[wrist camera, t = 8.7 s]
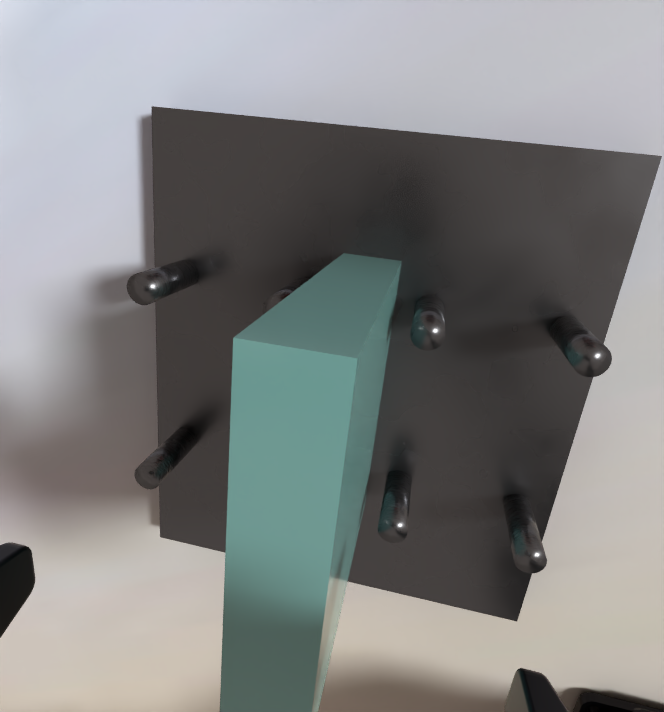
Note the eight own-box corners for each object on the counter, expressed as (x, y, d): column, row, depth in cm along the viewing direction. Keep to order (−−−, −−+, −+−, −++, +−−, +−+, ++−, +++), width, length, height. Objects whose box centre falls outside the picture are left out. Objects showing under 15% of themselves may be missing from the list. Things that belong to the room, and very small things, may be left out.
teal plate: (364, 506, 20) (303, 777, 11) (316, 496, 21) (218, 752, 11) (401, 261, 17) (357, 358, 8) (343, 252, 17) (233, 337, 8)
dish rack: (513, 602, 22) (529, 689, 18) (170, 523, 24) (122, 585, 20) (648, 157, 15) (715, 150, 12) (166, 110, 18) (95, 91, 14)
